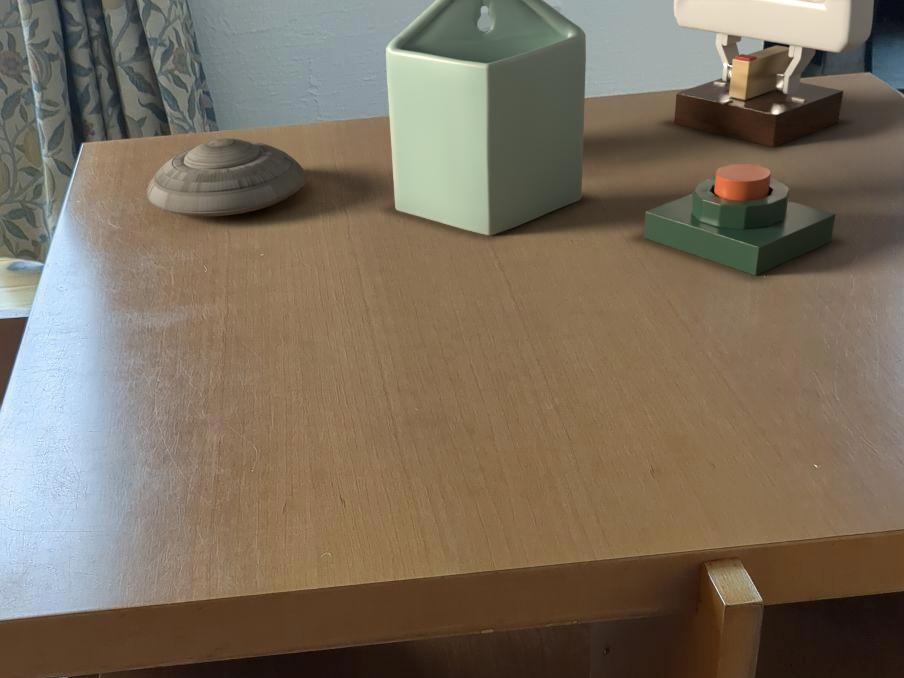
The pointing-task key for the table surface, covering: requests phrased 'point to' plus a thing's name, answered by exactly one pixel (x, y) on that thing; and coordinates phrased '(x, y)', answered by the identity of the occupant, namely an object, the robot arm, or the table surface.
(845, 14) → the robot arm
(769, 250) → the button block
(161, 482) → the table surface
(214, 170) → the flying saucer
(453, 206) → the planter
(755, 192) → the button
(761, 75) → the handle
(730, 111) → the panel
